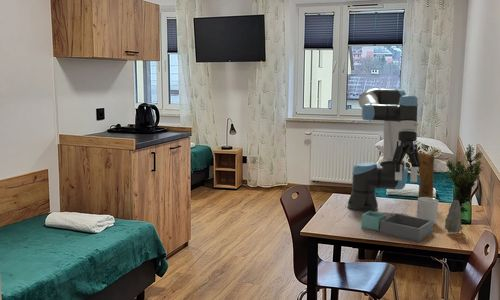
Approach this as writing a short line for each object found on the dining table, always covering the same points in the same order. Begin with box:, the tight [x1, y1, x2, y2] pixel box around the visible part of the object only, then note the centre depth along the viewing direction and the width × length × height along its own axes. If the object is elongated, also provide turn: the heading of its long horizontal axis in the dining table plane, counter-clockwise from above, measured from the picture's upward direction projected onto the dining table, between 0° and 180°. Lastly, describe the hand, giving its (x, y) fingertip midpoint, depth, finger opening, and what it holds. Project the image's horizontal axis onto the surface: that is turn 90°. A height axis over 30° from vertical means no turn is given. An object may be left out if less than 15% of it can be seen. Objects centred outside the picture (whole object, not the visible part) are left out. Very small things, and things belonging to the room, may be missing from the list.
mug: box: [416, 197, 439, 225], centre depth 222 cm, size 12×9×11 cm
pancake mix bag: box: [417, 151, 435, 199], centre depth 252 cm, size 7×19×28 cm, turn 0°
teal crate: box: [360, 211, 388, 232], centre depth 211 cm, size 8×8×6 cm
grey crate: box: [379, 213, 434, 243], centre depth 204 cm, size 17×17×6 cm
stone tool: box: [444, 199, 463, 234], centre depth 206 cm, size 8×3×15 cm, turn 98°
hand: (406, 181), depth 203 cm, fingers open, 13 cm apart
